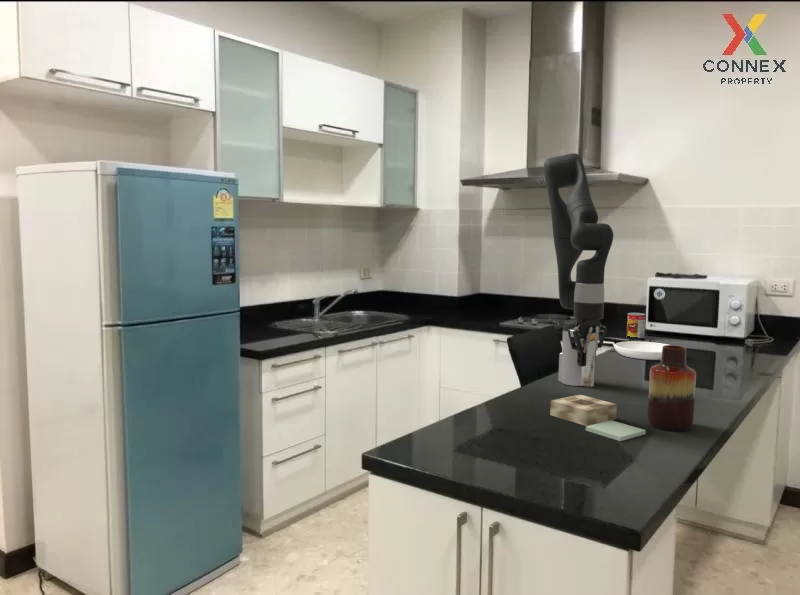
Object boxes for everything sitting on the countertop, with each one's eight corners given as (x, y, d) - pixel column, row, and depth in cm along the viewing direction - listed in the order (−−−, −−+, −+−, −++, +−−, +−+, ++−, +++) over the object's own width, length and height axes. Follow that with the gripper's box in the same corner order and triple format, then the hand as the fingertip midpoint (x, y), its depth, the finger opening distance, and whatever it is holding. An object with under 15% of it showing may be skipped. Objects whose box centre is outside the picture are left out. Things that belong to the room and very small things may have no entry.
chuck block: (550, 415, 172) (550, 400, 172) (579, 408, 179) (579, 394, 179) (586, 426, 162) (587, 410, 162) (616, 419, 169) (616, 404, 169)
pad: (585, 430, 159) (585, 426, 159) (610, 423, 165) (610, 420, 165) (620, 441, 151) (620, 437, 151) (645, 434, 157) (645, 430, 157)
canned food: (632, 337, 309) (633, 312, 308) (647, 339, 303) (648, 314, 302) (623, 338, 304) (624, 313, 303) (638, 340, 298) (639, 315, 297)
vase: (652, 430, 160) (657, 349, 158) (642, 418, 171) (646, 342, 169) (698, 432, 159) (703, 351, 157) (685, 420, 169) (690, 344, 167)
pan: (675, 364, 244) (676, 353, 244) (573, 353, 264) (573, 343, 263) (683, 354, 266) (684, 344, 265) (588, 345, 285) (588, 335, 285)
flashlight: (584, 387, 168) (587, 333, 166) (578, 383, 171) (580, 331, 169) (596, 386, 168) (598, 333, 167) (589, 383, 172) (591, 331, 170)
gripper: (583, 303, 160) (580, 371, 162) (617, 300, 169) (614, 364, 171) (559, 300, 166) (557, 365, 168) (594, 297, 175) (591, 359, 177)
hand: (586, 364), depth 169 cm, fingers closed on flashlight, 3 cm apart
